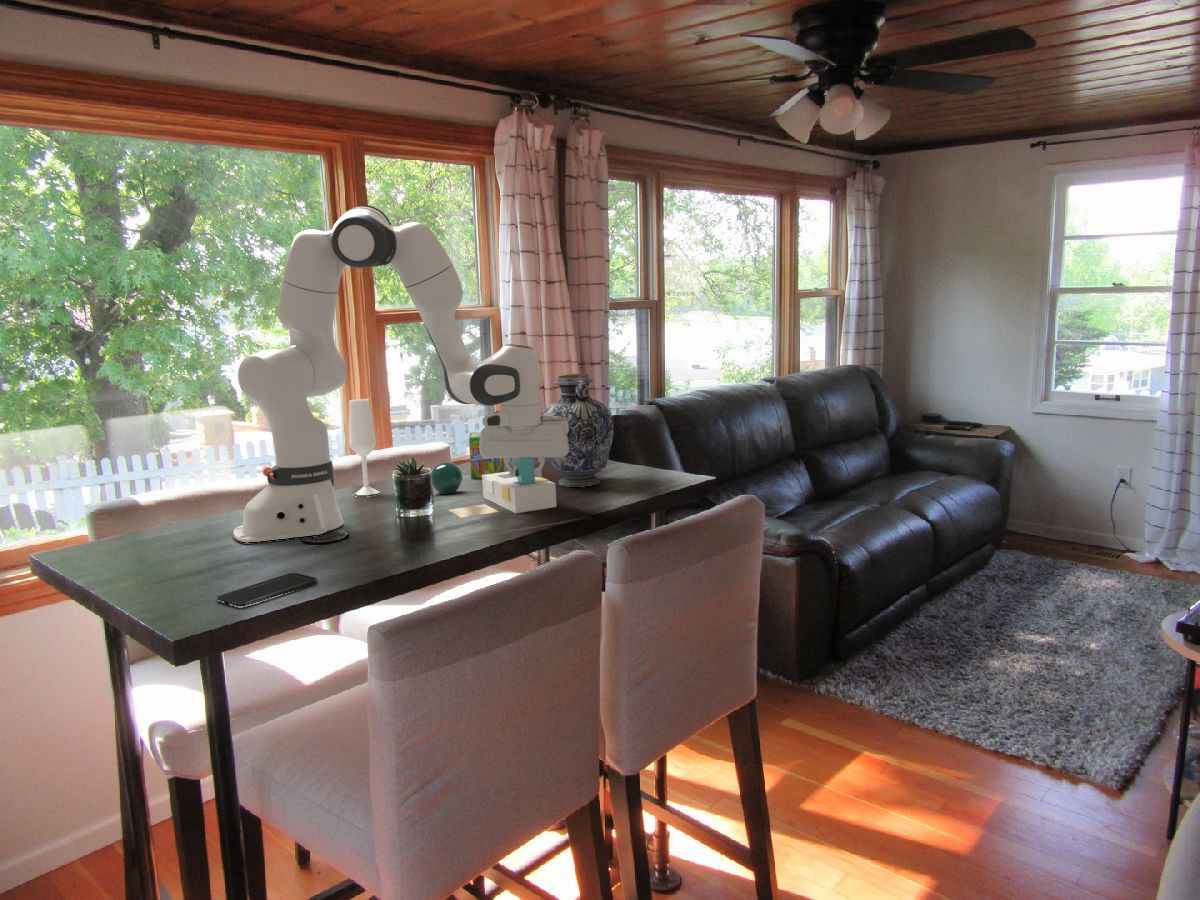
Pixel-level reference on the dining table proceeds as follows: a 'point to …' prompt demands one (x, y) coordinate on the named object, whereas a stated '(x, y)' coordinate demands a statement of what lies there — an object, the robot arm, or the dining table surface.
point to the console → (518, 492)
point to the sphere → (446, 478)
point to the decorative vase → (581, 432)
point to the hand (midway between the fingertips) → (525, 476)
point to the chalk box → (482, 459)
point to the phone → (268, 589)
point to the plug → (525, 471)
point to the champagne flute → (362, 437)
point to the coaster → (473, 511)
